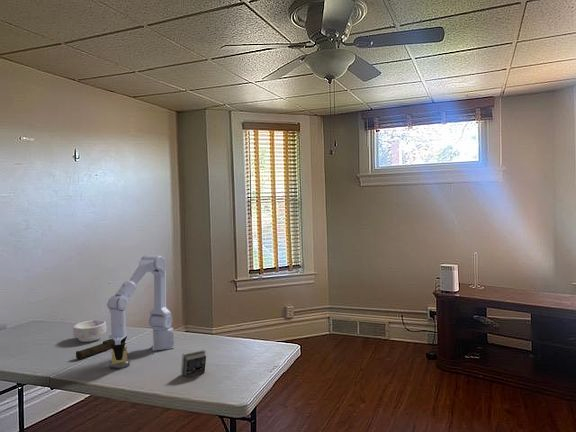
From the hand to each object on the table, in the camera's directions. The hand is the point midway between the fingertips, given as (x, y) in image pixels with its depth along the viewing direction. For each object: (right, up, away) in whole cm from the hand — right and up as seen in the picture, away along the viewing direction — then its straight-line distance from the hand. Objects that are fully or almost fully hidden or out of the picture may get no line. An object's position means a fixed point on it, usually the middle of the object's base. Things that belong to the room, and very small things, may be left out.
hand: (119, 356), depth 181 cm
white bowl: (-30, -4, +38) cm, 48 cm away
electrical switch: (+34, -4, -10) cm, 35 cm away
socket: (0, -2, 0) cm, 2 cm away
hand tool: (-17, -4, +17) cm, 25 cm away
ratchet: (-2, -4, +6) cm, 8 cm away
